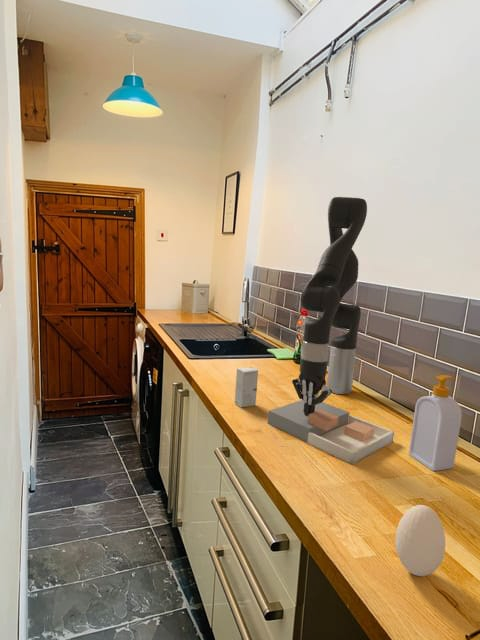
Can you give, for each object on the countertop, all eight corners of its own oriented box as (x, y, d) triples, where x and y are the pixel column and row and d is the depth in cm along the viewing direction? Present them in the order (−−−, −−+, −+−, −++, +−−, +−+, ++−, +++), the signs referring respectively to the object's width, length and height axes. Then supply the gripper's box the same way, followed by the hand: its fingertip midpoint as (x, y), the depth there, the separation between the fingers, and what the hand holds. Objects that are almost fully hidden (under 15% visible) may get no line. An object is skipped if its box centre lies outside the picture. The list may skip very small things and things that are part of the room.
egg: (431, 597, 63) (442, 529, 61) (384, 571, 68) (393, 506, 66) (445, 571, 69) (456, 508, 67) (401, 548, 73) (410, 488, 71)
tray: (349, 424, 126) (350, 415, 126) (392, 441, 116) (394, 431, 116) (307, 443, 112) (308, 432, 111) (352, 464, 102) (353, 453, 101)
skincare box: (241, 408, 134) (243, 372, 132) (233, 403, 137) (236, 368, 135) (256, 405, 137) (259, 370, 135) (248, 400, 141) (251, 366, 139)
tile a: (374, 428, 117) (373, 436, 118) (355, 421, 121) (355, 429, 122) (364, 433, 113) (363, 442, 114) (345, 426, 117) (344, 434, 118)
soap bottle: (455, 468, 103) (470, 381, 99) (434, 472, 101) (448, 382, 97) (428, 451, 112) (441, 370, 108) (408, 454, 109) (420, 371, 105)
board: (308, 408, 137) (309, 397, 136) (348, 424, 126) (349, 412, 125) (267, 423, 123) (268, 410, 122) (307, 442, 112) (309, 428, 112)
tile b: (318, 417, 120) (319, 409, 119) (337, 424, 116) (338, 416, 115) (307, 422, 115) (308, 414, 115) (326, 431, 111) (327, 422, 111)
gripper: (342, 361, 113) (335, 420, 116) (304, 350, 123) (298, 405, 126) (325, 364, 108) (319, 426, 111) (287, 353, 118) (282, 410, 120)
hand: (308, 415), depth 118 cm, fingers closed
